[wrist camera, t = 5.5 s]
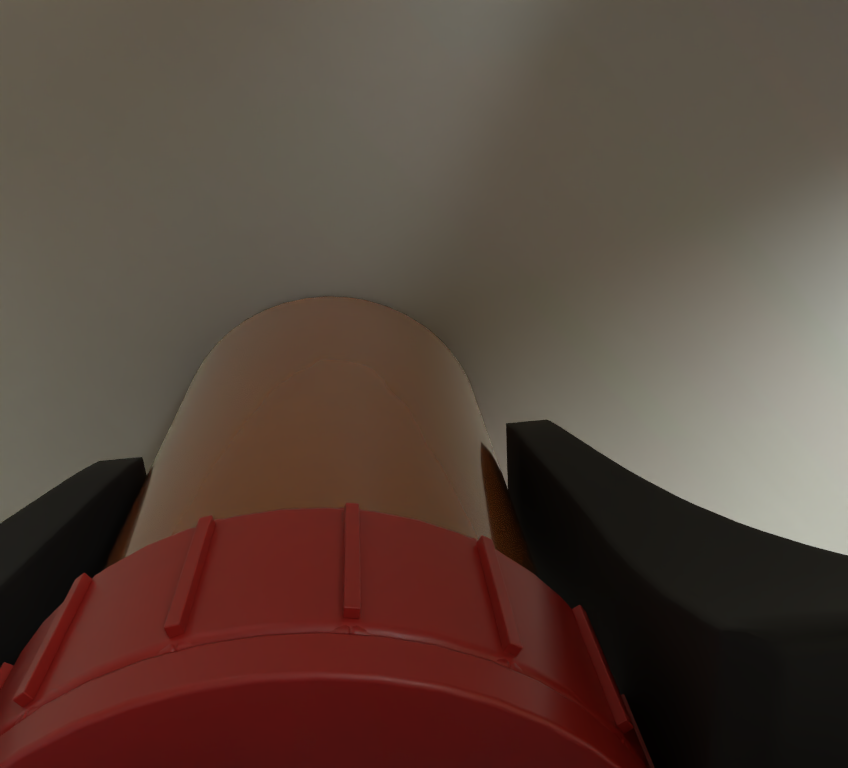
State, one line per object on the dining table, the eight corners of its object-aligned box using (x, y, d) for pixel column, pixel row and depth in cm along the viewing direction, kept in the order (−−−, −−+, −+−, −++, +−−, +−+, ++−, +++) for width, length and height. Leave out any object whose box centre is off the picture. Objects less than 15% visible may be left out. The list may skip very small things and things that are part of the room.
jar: (268, 597, 15) (186, 1146, 7) (126, 369, 13) (-178, 803, 6) (519, 496, 14) (697, 968, 7) (410, 245, 13) (497, 531, 5)
